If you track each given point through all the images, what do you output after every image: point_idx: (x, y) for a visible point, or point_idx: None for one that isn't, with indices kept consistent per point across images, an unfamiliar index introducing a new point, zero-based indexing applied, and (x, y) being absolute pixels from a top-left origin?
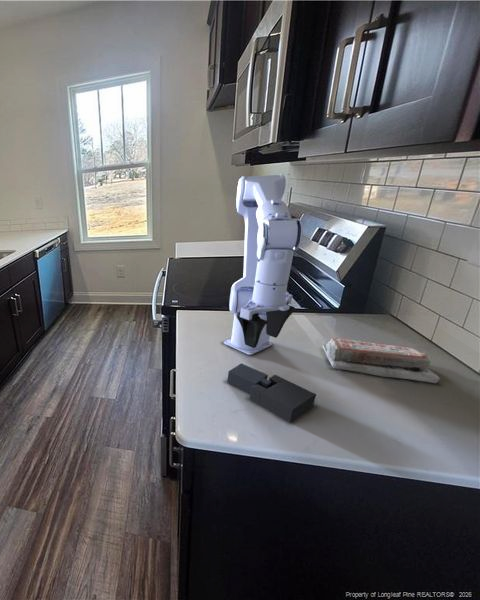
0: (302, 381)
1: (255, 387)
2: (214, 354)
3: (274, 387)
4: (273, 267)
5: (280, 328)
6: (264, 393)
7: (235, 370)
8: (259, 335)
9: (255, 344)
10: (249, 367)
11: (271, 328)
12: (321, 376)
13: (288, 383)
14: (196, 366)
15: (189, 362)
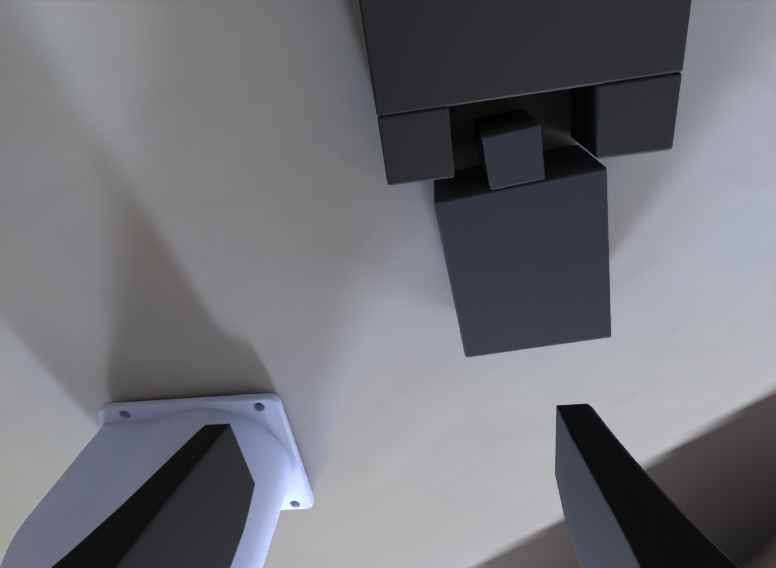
0: (195, 113)
1: (653, 136)
2: (424, 464)
3: (536, 73)
4: None
5: (150, 504)
6: (673, 51)
7: (570, 324)
8: (638, 533)
9: (609, 431)
10: (462, 308)
11: (210, 532)
12: (48, 97)
13: (401, 62)
14: None
15: None
